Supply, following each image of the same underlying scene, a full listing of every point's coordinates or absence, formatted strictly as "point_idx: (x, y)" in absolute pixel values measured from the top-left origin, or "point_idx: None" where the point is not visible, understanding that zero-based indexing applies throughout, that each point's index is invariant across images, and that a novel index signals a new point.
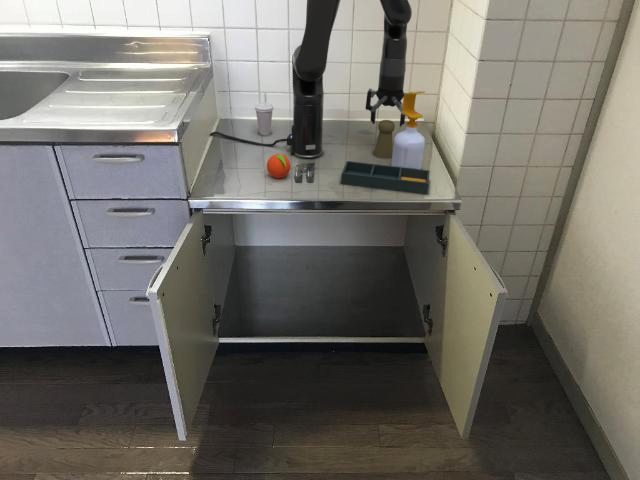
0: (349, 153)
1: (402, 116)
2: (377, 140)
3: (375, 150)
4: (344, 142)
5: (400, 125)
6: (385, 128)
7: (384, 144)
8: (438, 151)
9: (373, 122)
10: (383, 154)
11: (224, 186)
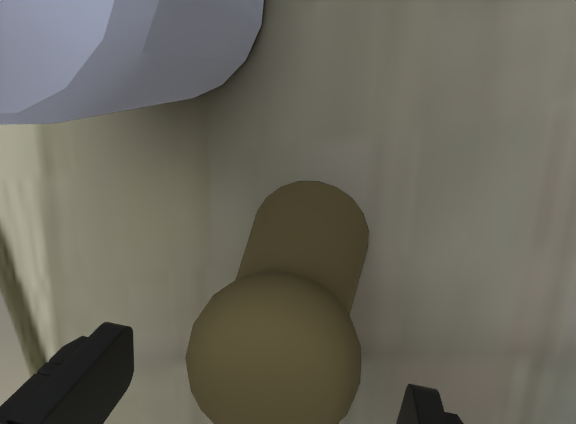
0: (545, 225)
1: (25, 407)
2: (355, 275)
3: (363, 235)
4: (551, 380)
5: (116, 326)
6: (283, 290)
7: (301, 223)
8: (19, 287)
9: (426, 394)
10: (310, 189)
11: None
